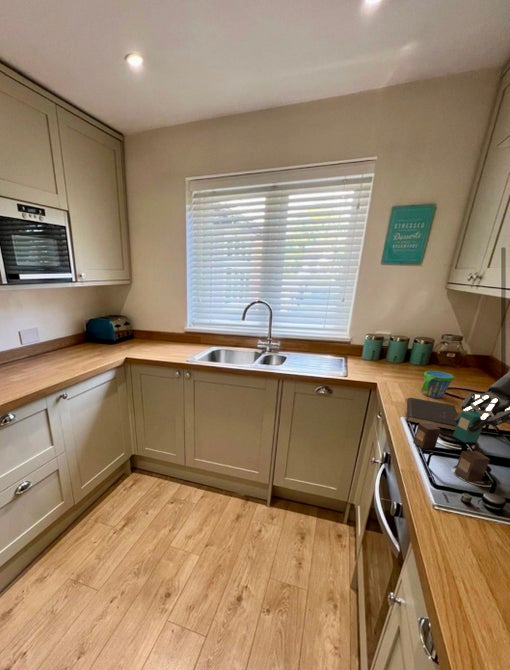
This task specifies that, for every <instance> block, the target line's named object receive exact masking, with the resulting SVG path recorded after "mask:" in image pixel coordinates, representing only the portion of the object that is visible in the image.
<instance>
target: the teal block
mask: <svg viewBox="0 0 510 670" xmlns="http://www.w3.org/2000/svg"><path fill="white" fill-rule="evenodd" d="M459 415H460V416H459V420H458V423H457V425H456V428H455V431H453V434H452V437H454V438H455V439H457V440H459V441H461V442H462V443H465V444H466V443H478V441H479V438H480V435H481V434H482V433H481V432H482V430H483V427H482V428H481V429H479V430H478V431H476V432H473V433H472V432H470V431H469V429H468V426H470V425H471V424H473V423H474V422H475V421H476V420H478V419H481V417H482V415H483V414H482V413H478V412H475V411H472V410H471V411H463V410H461V411H460V413H459Z"/></svg>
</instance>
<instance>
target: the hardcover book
mask: <svg viewBox="0 0 510 670" xmlns="http://www.w3.org/2000/svg"><path fill="white" fill-rule="evenodd" d="M458 415H459V413H458V411H457V408H456V405H455V404H449V403H444V402H438V401H432V400H428V399H427V400H426V399H421V398H415V397H408V398H407V401H406V421H407V422H408V421H412V422H417V423H431V424H433V425H435V426H436V427H441V428H446V429H451V430H455V428H456V423H455V422H454V420H455V418H456V417H457V416H458Z"/></svg>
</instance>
